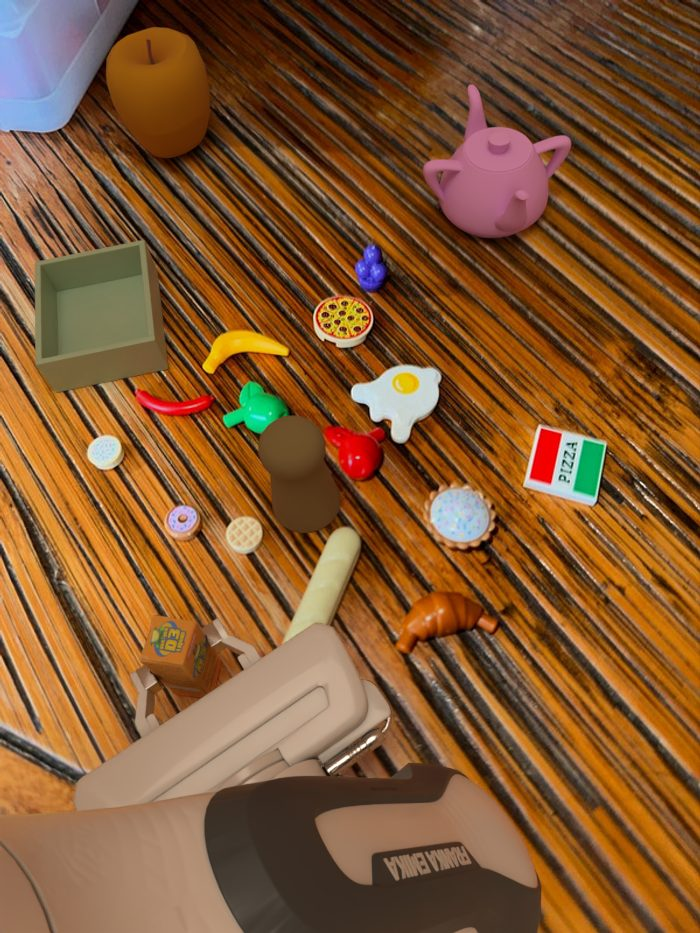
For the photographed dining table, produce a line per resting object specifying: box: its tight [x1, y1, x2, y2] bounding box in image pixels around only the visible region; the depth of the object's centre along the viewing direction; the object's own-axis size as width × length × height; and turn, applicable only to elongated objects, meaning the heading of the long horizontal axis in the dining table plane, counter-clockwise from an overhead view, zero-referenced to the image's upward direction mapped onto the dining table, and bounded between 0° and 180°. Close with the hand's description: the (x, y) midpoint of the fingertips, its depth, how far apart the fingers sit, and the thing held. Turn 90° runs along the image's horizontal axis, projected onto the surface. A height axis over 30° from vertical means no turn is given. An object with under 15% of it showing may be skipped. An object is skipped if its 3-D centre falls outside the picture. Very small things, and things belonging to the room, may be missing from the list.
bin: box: [34, 239, 169, 394], centre depth 75 cm, size 13×11×5 cm
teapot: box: [422, 84, 572, 239], centre depth 78 cm, size 12×14×9 cm
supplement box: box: [139, 614, 223, 698], centre depth 55 cm, size 3×3×10 cm
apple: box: [105, 26, 211, 159], centre depth 85 cm, size 11×11×13 cm
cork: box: [257, 414, 341, 534], centre depth 62 cm, size 6×6×11 cm
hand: (175, 647), depth 55 cm, fingers closed on supplement box, 4 cm apart
